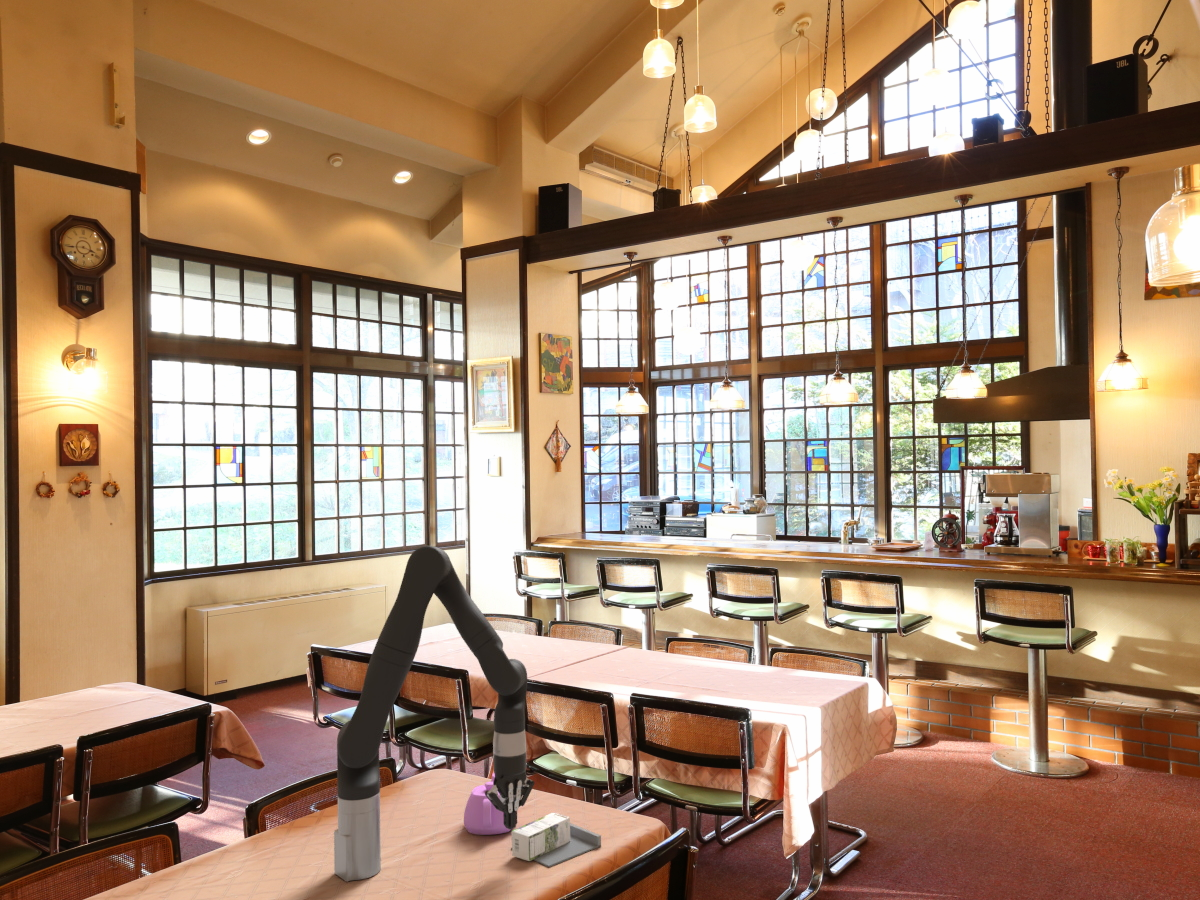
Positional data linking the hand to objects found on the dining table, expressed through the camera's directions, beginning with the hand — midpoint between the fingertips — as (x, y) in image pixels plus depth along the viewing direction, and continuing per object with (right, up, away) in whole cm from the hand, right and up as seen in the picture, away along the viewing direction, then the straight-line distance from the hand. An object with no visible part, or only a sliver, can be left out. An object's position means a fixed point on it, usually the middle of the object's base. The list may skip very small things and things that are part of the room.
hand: (510, 827), depth 195 cm
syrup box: (+2, -5, +2) cm, 6 cm away
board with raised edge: (+10, -8, +8) cm, 15 cm away
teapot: (-7, -10, +22) cm, 25 cm away
